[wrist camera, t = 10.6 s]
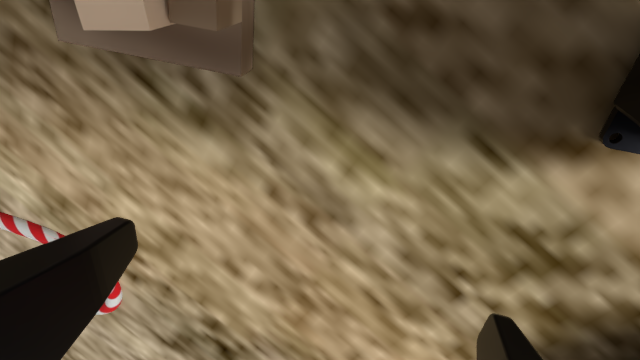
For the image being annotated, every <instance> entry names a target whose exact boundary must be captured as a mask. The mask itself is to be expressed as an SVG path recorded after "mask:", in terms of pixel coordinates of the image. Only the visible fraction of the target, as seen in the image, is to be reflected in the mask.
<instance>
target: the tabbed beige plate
mask: <svg viewBox="0 0 640 360" xmlns="http://www.w3.org/2000/svg"><path fill="white" fill-rule="evenodd" d="M254 1H255V0H168V3H169V16H170V23H175V24H173V25H169V26H165V27H162V28H158V29H154V30H151V31H121V30H83V27H82V24H81V21H80V18H79V14H78V11H77V8H76V5H75V2H74V0H49V2H50V6H51V10H52V15H53V19H54V23H55V28H56V32H57V36H58V41H63V42H68V43H73V44H78V45H83V46H88V47H93V48H98V49H103V50H108V51H113V52H118V53H123V54H128V55H133V56H139V57H144V58H149V59H154V60H159V61H164V62H169V63H174V64H179V65H184V66H189V67H194V68H199V69H204V70H209V71H214V72H219V73H225V74H230V75H235V76H240V77H241V76H243V75H244V74H246V73H247V72H249V71H250V70H252V68H253V34H254Z"/></svg>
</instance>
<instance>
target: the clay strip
mask: <svg viewBox="0 0 640 360" xmlns="http://www.w3.org/2000/svg"><path fill="white" fill-rule="evenodd" d="M74 2H75V5H76V8H77V11H78V14H79V18H80V21H81V24H82V27H83V30H121V31H151V30H154V29H158V28H162V27H165V26H169V25H173V24H175V23H170V16H169V3H168V0H74Z"/></svg>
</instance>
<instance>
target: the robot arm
mask: <svg viewBox="0 0 640 360" xmlns="http://www.w3.org/2000/svg"><path fill="white" fill-rule="evenodd" d="M614 104H615V107H614V109H613V111H612V113H611V114H610V116H609V118H608V120H607V121H606V123H605V125H604V127H603V129H602V130H601V132H600V135H599V139H600V141H601V142H602V143H603V144H604V145H605V146H606V147H608V148H611V149H616V150H621V151H626V152H631V153H636V154H640V54H639V56H638V58H637V60H636V62H635V63H634V65H633V67H632V69H631V71H630V72H629V74H628V76H627V78H626V80H625V81H624V83H623V85H622V87H621V89H620V90H619V92H618V94H617V96H616V98H615V99H614ZM614 133H619V135H618V137H617V138H615V139H613V140H609V137H610V136H611V135H612V134H614ZM137 248H138V242H137V236H136V230H135V225H134V223H133V221H131V220H128V219H124V218H120V217H116V218H113V219H110V220H107V221H104V222H102V223H99V224H96V225H94V226H91V227H88V228H86V229H83V230H80V231H78V232H75V233H72V234H70V235H67V236H64V237H62V238H59V239H56V240H54V241H51V242H48V243H46V244H43V245H40V246H38V247H35V248H32V249H29V250H27V251H24V252H21V253H19V254H16V255H13V256H11V257H8V258H5V259H3V260H0V360H61V358H62V357H63V356H64V355H65V353H66V352H67V351H68V349H69V348H70V347H71V346H72V344H73V343H74V342H75V340H76V339H77V338H78V337H79V335H80V334H81V333H82V331H83V330H84V329H85V327H86V326H87V325H88V324H89V322H90V321H91V320H92V318H93V317H94V316H95V315H96V313H97V312H98V311H99V309H100V308H101V307H102V305H103V304H104V302H105V301H106V300H107V298H108V297H109V295H110V293H111V292H112V290H113V289H114V287H115V285H116V284H117V282H118V281H119V279H120V277H121V276H122V274H123V273H124V271H125V270H126V268H127V266H128V265H129V263H130V262H131V260H132V258H133V257H134V255H135V253H136V251H137ZM477 360H543V359H542V358H541V356H540V355H539V354H538V352H537V351H536V350H535V348H534V347H533V346H532V345H531V343H530V342H529V341H528V339H527V338H526V337H525V335H524V334H523V333H522V331H521V330H520V329H519V328H518V326H517V325H516V324H515V322H514V321H513V320H512V319H511V318H509V317H507V316H503V315H499V314H495V313H493V314H491V315H490V316H489V317H488V319H487V321H486V322H485V324H484V326H483V328H482V330H481V332H480V333H479V335H478V339H477Z"/></svg>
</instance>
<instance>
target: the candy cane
mask: <svg viewBox="0 0 640 360" xmlns="http://www.w3.org/2000/svg"><path fill="white" fill-rule="evenodd" d="M0 229H3V230H7V231H10V232H13V233H16V234H18V235H21V236H24V237H27V238H30V239H32V240H35V241H38V242H40V243H43V244H46V243H48V242H51V241H54V240H56V239H59V238H62V237H64V235H62V234H60V233H58V232H55V231H53V230H51V229H48V228H46V227H43V226H41V225H38V224H35V223H32V222H29V221H26V220H24V219H21V218H18V217H15V216H11V215H8V214H5V213H2V212H0ZM121 300H122V290H121V287H120V284H119V282H117V284H116V285H115V287H114V289H113V290H112V292H111V293H110V295H109V297H108V298H107V300H106V301H105V302H104V304H103V305H102V307H101V308H100V309H99V311H98V312H97V313H96V314H97V315H100V314H107V313H110V312H112V311H114V310H116V309H117V307H118V306H119V305H120V303H121Z"/></svg>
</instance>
